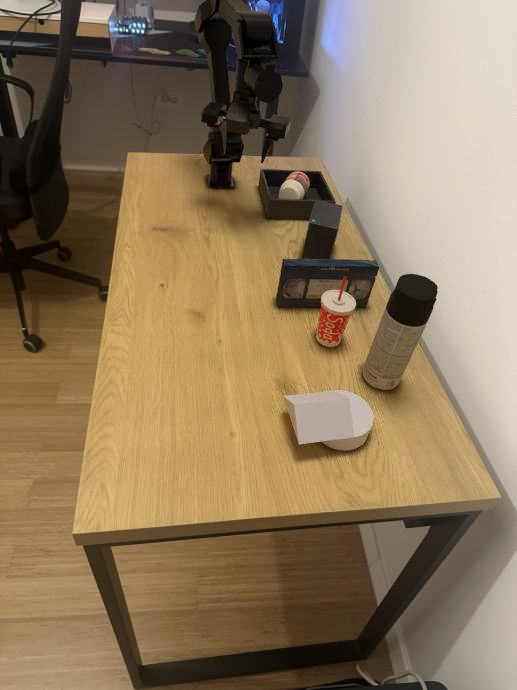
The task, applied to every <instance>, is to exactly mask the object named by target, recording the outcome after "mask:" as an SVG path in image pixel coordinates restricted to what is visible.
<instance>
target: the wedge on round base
mask: <svg viewBox="0 0 517 690" xmlns="http://www.w3.org/2000/svg"><path fill="white" fill-rule="evenodd" d="M282 397H283V400H284V403H285V406H286V409H287V412H288V415H289V418H290V421H291V425H292V427H293V430H294V434H295V437H296V439H297V443H298V445H306V444H312V443H322V444H323V445H325V446H327V447H329V448H330V449H333V450H337V451H344V452H345V451H352V450H357V448H359V447H361V446H362V445H363V444H364V443H365V442H366V441H367V438H368V436H369V435H370V431H371V429H372V427H373V424H374V420H375V419H374V417H375V416H374V412H373V410H372V408H371V405H369V403H368V402H367V401H366V400H365V399H364V398H362V397H361V396H359V395H358V394H355V393H354V392H351V391H349V390H348V391H347V390H342V389H334V390H333V389H332V390H325V391H316V392H307V393H295V394H287V395H282Z"/></svg>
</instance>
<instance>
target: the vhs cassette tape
mask: <svg viewBox="0 0 517 690" xmlns="http://www.w3.org/2000/svg"><path fill="white" fill-rule="evenodd" d="M379 270H380V266H379V263H378V261H377V259H372V260H371V259H350V258H349V259H348V258H347V259H345V258H343V259H342V258H341V259H340V258H338V259H337V258H335V259H330V260H328V259H301V258H282V261H281V267H280V272H279V273H280V274H279V279H278V280H279V281H278V284H277V291H276V296H275V298H276V304H277V307H279V308H321V297H322V295H323V293H325V292H326V291H329V290H340V289H341V286H342V282H343V279H344V276H346V277H347V278H346V282H345V285H344V289H343V291H344V292H347V293H348V294H350V295H351V296H352V297H353V298H354V299H355V301H356V306H355V308H366V307H367V306H368V303H369V301H370V297H371V294H372V291H373V288H374V285H375V283H376V280H377V276H378V273H379Z"/></svg>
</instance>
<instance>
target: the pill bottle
mask: <svg viewBox="0 0 517 690" xmlns="http://www.w3.org/2000/svg"><path fill="white" fill-rule="evenodd" d="M309 185H310V183H309V179H308V177H307V176H306V175H305V174H304V173H302V172H293V173H291V174H290V175H289V176H288V177H287V179H286V180H285V182H284V183H283V184H282V186H281V188H280V192H279V199H293V200H302V199H303V198H304V196H305V194H306V193H307V191H308V189H309Z"/></svg>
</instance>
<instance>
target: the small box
mask: <svg viewBox="0 0 517 690" xmlns="http://www.w3.org/2000/svg"><path fill="white" fill-rule="evenodd" d="M343 208H344V207H343V205H342V204H337V203H336V204H333V203H328V202H324V201H320V200H316V201H315V204H314V207H313V210H312V214H311V217H310V220H308V225H307V230H306V235H305V239H304V244H303V248H302V253H301V257H300V259H328V260H332V255H333V251H334V248H335V245H336V240H337V238H338V234H339V229H340V223H341V218H342V213H343Z"/></svg>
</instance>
